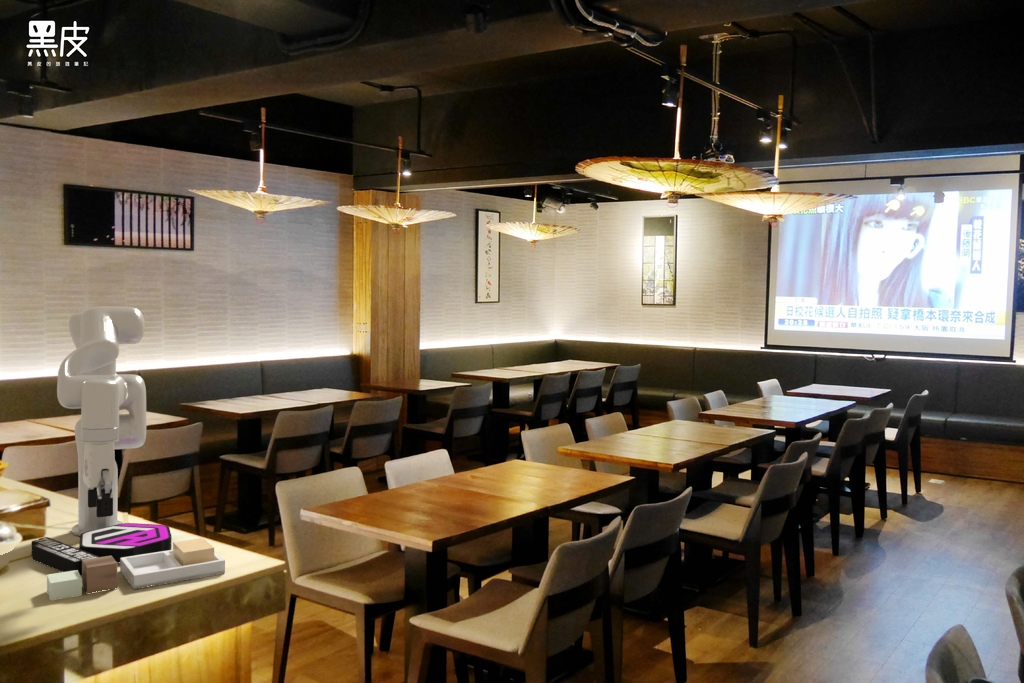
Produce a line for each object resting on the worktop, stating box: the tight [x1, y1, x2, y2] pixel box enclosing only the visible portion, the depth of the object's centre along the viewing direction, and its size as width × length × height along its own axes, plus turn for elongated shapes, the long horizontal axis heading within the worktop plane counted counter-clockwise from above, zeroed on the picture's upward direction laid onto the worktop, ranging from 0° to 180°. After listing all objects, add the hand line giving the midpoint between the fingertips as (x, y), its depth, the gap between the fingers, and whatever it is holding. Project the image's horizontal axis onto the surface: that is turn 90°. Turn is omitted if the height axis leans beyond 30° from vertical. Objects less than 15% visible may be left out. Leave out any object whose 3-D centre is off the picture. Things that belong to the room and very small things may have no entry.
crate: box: [119, 537, 226, 590], centre depth 196 cm, size 14×20×6 cm
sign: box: [31, 522, 172, 575], centre depth 208 cm, size 27×4×30 cm
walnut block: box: [81, 556, 118, 594], centre depth 185 cm, size 6×6×6 cm
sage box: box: [46, 570, 83, 601], centre depth 181 cm, size 6×6×4 cm
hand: (100, 511), depth 184 cm, fingers open, 9 cm apart
